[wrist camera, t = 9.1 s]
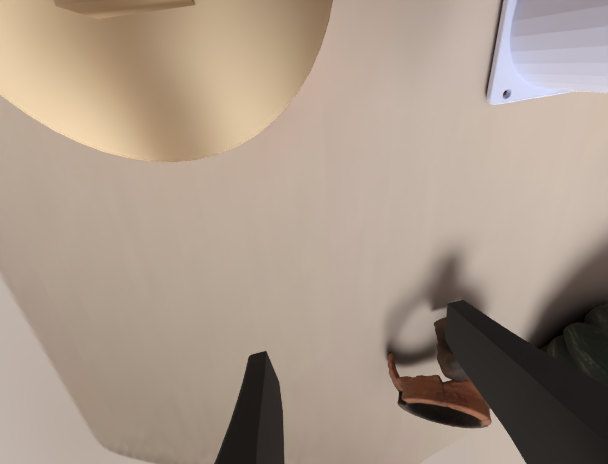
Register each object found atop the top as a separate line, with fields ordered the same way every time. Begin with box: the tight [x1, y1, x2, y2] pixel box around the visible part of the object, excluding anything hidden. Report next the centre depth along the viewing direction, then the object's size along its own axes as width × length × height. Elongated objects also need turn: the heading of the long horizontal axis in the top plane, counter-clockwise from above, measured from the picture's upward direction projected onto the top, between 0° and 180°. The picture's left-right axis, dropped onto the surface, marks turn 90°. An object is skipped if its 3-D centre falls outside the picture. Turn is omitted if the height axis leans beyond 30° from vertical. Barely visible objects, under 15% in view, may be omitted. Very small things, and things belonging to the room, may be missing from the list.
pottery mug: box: [388, 317, 491, 428], centre depth 26 cm, size 12×10×8 cm
